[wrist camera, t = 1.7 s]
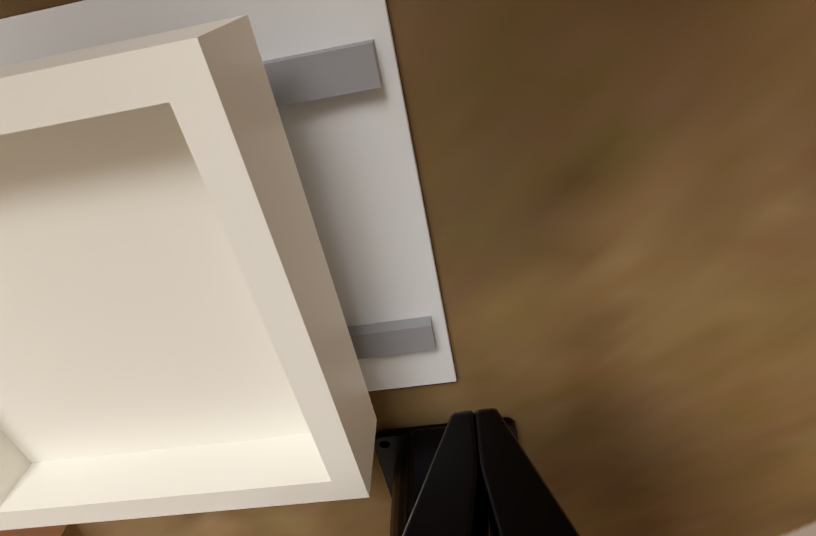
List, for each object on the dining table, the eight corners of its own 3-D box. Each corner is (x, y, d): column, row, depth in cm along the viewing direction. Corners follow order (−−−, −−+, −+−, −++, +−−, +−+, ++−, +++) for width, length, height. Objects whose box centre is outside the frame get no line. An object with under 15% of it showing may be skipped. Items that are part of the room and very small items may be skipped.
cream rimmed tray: (380, 384, 21) (369, 497, 17) (67, 420, 23) (-14, 531, 18) (267, 5, 14) (197, 36, 9) (-184, 101, 15) (-414, 164, 11)
